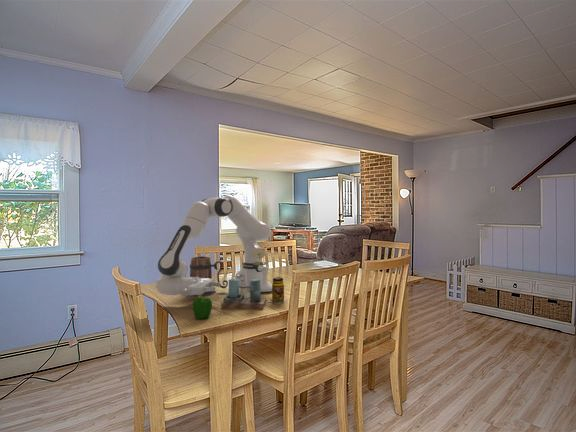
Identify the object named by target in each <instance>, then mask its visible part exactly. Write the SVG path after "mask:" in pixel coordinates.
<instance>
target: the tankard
mask: <svg viewBox="0 0 576 432" xmlns="http://www.w3.org/2000/svg"><path fill="white" fill-rule="evenodd" d="M218 264H220V268H219V270H218ZM212 267H213V268H214V269H215V270H216V271H217V270H218V272H217V274H216V279H217V281H216V282H217V283H221V282H220V273H221V271H222V268H223V262H222V261H220V260H218V261H216V262H214V264H212V261H211V257H209V256H208V257H207V256H196V257H195V256H194V257H191V260H190V264H189V277H199V278H209V279H213V276H212V275H213V274H212ZM228 286H229V280H226V279H224V280H222V284H221V285H220V286H219V288H220V289H221V288H222V289H226V288H227V287H228ZM216 293H217V291H216V289H215V290H214V291H208V292H204V293H203V294H202V295H201V296H202V297H208V296H213V295H215V294H216ZM186 296H187V297H195V298H196V297H197V298H198V296H200V295H192V296H190V295H186Z"/></svg>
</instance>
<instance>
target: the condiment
mask: <svg viewBox="0 0 576 432" xmlns="http://www.w3.org/2000/svg"><path fill="white" fill-rule="evenodd" d="M271 284H272V291H271V293H272V294H271V296H272V297H271V299H268V300H266V303H267V302H268V303H272V304H277V305H279V304H283V303H285V302H286V301H288V300H287V299H285V283H284V278H283V277H282V276H281V277H279V276H278V277H276V276H275V277H273V278H272V283H271Z"/></svg>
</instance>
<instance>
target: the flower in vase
mask: <svg viewBox="0 0 576 432" xmlns="http://www.w3.org/2000/svg"><path fill="white" fill-rule="evenodd" d="M260 248H261V249H260ZM260 248H257V249H255V250H254V251H253V253H252V256H253V258H255V259H256V258H257V259H260V258H261V259H262V260H263V259H264V258H265V256H266V255H267V253H266V250H265V249H264V248H262V247H260ZM269 262H270V261H269V260H268V261H266V262H263V265H262V264H261V265H262V266H263V267H260V268H261V270H262V274H263V279H262V281H261V293H269V292H272V283H271V282H270V281H268V279H267V274H268V271H269V268H270V267H269V266H266V265H268V264H269ZM260 263H261V262H255V263H254V264H253V265H259V264H260Z"/></svg>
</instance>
